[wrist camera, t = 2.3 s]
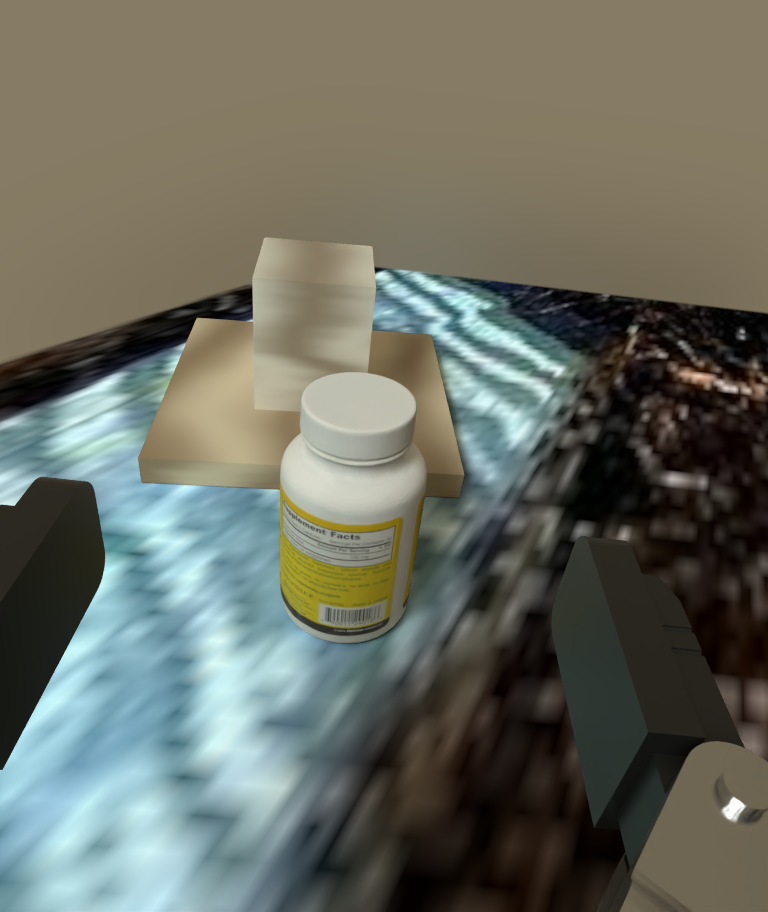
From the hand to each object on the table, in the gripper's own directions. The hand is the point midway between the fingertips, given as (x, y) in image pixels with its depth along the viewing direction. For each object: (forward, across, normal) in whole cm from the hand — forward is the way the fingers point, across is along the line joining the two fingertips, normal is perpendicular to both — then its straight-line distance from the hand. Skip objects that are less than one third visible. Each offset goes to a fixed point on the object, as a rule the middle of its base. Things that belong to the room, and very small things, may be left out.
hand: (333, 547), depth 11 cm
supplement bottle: (+12, 0, +14) cm, 18 cm away
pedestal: (+26, +3, +13) cm, 30 cm away
